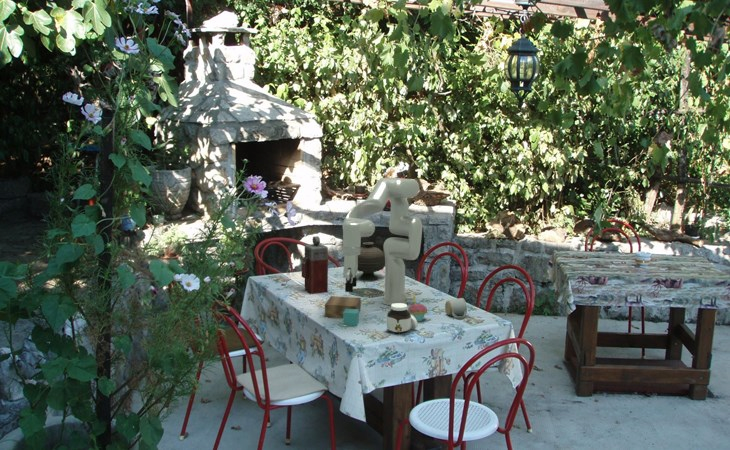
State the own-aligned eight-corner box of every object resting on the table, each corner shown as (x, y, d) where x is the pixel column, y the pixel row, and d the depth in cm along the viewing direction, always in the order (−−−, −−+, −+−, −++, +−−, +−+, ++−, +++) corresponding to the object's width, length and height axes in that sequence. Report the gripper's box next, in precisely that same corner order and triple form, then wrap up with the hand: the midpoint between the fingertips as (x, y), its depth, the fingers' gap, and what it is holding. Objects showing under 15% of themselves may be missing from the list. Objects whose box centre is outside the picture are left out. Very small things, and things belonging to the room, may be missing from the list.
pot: (343, 278, 414) (346, 241, 412) (362, 274, 429) (365, 238, 426) (371, 284, 404) (374, 246, 402) (389, 280, 419) (393, 243, 416)
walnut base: (360, 310, 359) (360, 297, 358) (355, 319, 345) (355, 306, 344) (330, 308, 361) (330, 296, 360) (324, 317, 347) (324, 304, 346)
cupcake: (413, 323, 341) (413, 296, 339) (404, 317, 348) (405, 292, 346) (430, 321, 344) (431, 295, 342) (421, 315, 352) (422, 290, 350)
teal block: (358, 322, 341) (359, 309, 340) (356, 326, 335) (356, 313, 334) (345, 321, 342) (345, 308, 341) (343, 325, 336) (343, 312, 335)
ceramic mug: (443, 313, 356) (444, 297, 355) (460, 312, 359) (460, 296, 357) (453, 320, 346) (453, 304, 345) (469, 319, 349) (470, 302, 347)
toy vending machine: (300, 290, 391) (300, 236, 386) (320, 287, 397) (320, 234, 391) (307, 294, 384) (307, 239, 378) (327, 292, 389) (328, 237, 384)
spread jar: (384, 332, 328) (384, 306, 326) (394, 325, 338) (394, 299, 336) (410, 336, 323) (411, 309, 321) (420, 329, 333) (420, 302, 331)
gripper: (346, 246, 341) (345, 283, 344) (339, 253, 325) (338, 293, 327) (363, 246, 340) (362, 284, 343) (357, 254, 324) (356, 294, 326)
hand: (350, 289), depth 335 cm, fingers open, 9 cm apart
